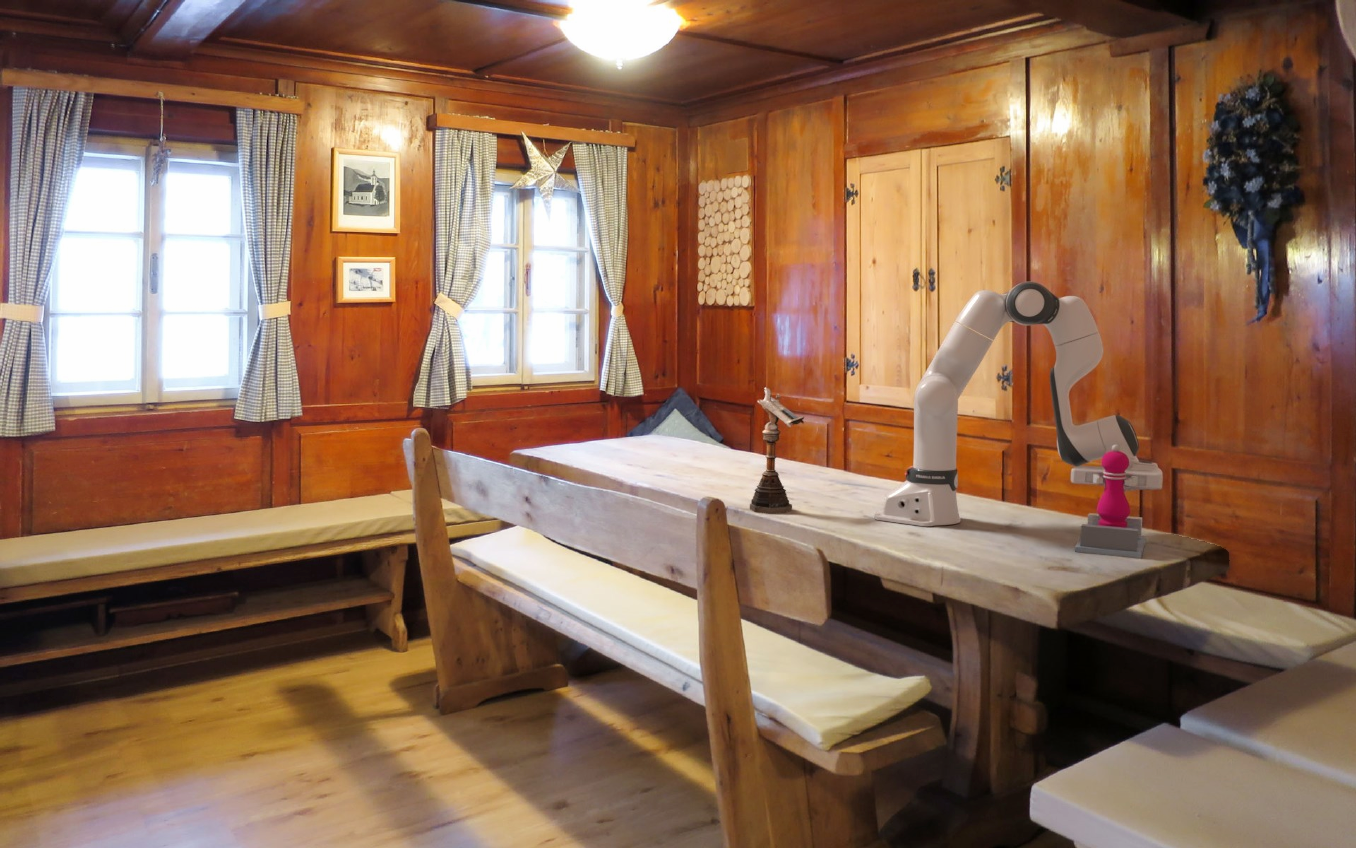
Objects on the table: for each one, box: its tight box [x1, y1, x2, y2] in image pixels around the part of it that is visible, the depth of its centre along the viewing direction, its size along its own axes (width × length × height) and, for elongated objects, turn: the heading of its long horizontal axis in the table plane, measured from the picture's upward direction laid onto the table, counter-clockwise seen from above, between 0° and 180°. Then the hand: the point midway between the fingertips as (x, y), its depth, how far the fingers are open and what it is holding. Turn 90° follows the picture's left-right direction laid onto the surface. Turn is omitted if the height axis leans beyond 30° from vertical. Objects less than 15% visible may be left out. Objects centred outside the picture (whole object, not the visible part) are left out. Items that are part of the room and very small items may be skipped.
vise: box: [1074, 523, 1147, 559], centre depth 241 cm, size 14×20×6 cm
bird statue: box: [749, 387, 805, 515], centre depth 285 cm, size 17×13×35 cm
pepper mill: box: [1096, 445, 1131, 528], centre depth 238 cm, size 7×7×20 cm
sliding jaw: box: [1087, 512, 1143, 539], centre depth 247 cm, size 12×2×5 cm, turn 63°
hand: (1113, 482), depth 237 cm, fingers closed on pepper mill, 5 cm apart
